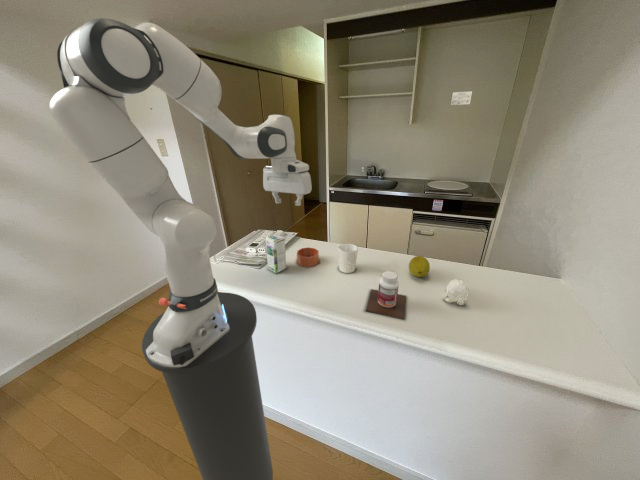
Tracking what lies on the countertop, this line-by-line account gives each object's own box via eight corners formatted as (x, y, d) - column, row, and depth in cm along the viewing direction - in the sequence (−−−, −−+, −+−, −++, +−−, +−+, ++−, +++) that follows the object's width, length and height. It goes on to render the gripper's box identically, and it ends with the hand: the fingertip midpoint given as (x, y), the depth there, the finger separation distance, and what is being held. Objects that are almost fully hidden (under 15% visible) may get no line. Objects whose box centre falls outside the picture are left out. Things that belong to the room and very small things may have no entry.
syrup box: (267, 269, 108) (264, 237, 102) (278, 263, 112) (275, 233, 106) (276, 273, 104) (273, 241, 98) (287, 268, 109) (285, 236, 102)
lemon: (409, 267, 109) (412, 250, 105) (429, 271, 105) (432, 254, 102) (404, 279, 100) (407, 261, 97) (425, 285, 97) (429, 266, 93)
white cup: (333, 268, 108) (334, 247, 104) (347, 262, 113) (348, 241, 108) (346, 276, 103) (347, 254, 98) (360, 269, 107) (361, 248, 103)
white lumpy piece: (449, 283, 82) (447, 268, 93) (444, 305, 85) (442, 288, 96) (472, 287, 80) (466, 271, 91) (465, 310, 83) (461, 292, 94)
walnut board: (404, 319, 80) (404, 318, 80) (365, 311, 83) (365, 309, 83) (405, 296, 90) (405, 295, 90) (371, 290, 94) (371, 289, 93)
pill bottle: (384, 294, 91) (387, 267, 86) (399, 302, 86) (403, 274, 82) (373, 302, 87) (376, 274, 82) (389, 311, 83) (393, 282, 78)
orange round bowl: (314, 268, 108) (314, 258, 106) (293, 264, 111) (293, 255, 109) (321, 258, 116) (321, 249, 114) (301, 254, 119) (301, 246, 117)
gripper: (256, 166, 93) (261, 203, 98) (301, 167, 82) (304, 209, 88) (268, 164, 98) (273, 199, 103) (312, 165, 87) (315, 204, 92)
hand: (288, 204), depth 95 cm, fingers open, 8 cm apart
